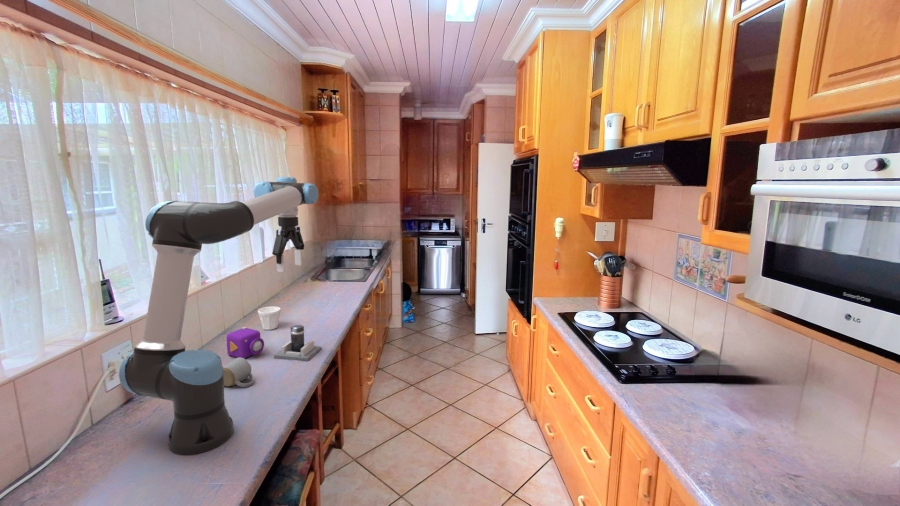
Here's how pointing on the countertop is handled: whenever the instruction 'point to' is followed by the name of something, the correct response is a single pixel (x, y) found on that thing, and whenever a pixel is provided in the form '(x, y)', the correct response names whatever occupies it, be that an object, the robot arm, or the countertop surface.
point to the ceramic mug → (237, 373)
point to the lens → (297, 338)
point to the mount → (304, 355)
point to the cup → (269, 317)
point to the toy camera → (244, 343)
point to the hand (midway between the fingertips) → (289, 268)
